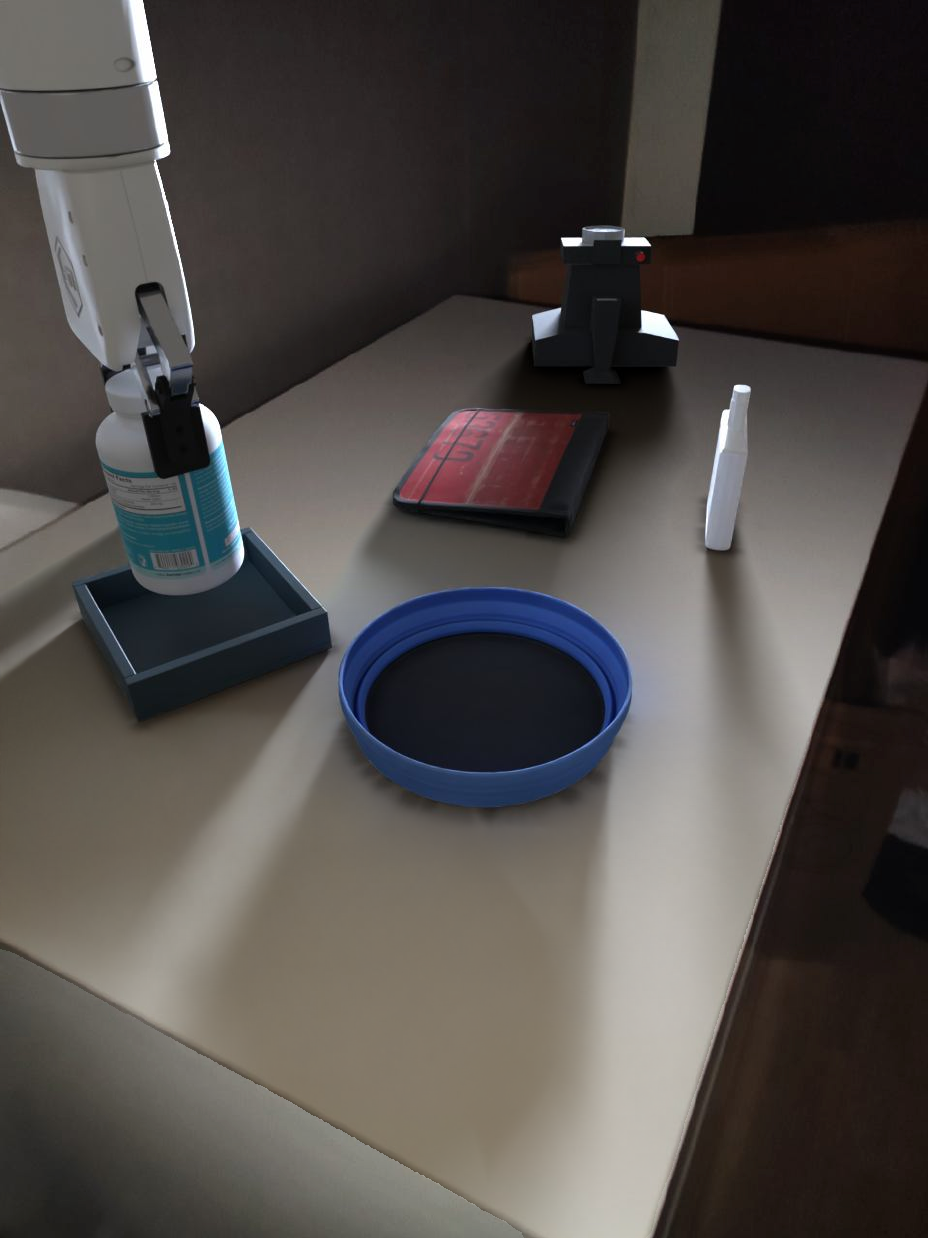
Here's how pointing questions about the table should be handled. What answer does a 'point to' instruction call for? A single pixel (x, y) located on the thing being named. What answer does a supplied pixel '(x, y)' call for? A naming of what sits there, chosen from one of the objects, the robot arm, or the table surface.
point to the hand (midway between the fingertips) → (161, 444)
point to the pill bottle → (168, 501)
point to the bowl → (485, 694)
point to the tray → (201, 630)
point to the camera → (603, 310)
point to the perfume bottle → (728, 471)
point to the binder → (506, 468)
